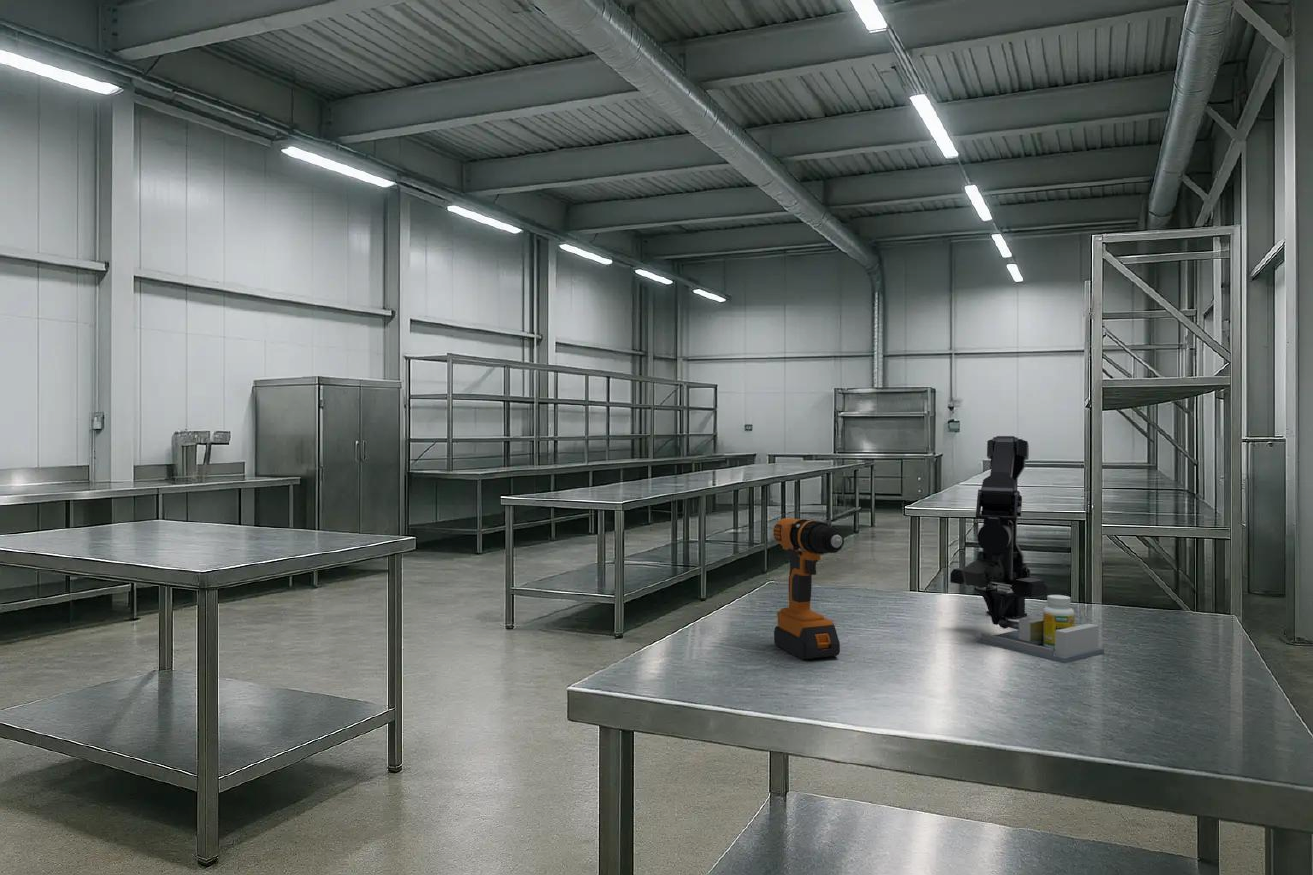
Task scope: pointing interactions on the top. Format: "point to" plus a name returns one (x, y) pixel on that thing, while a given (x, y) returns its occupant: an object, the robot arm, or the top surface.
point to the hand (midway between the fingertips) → (996, 624)
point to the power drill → (805, 589)
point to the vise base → (1067, 643)
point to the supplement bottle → (1056, 618)
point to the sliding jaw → (1026, 629)
